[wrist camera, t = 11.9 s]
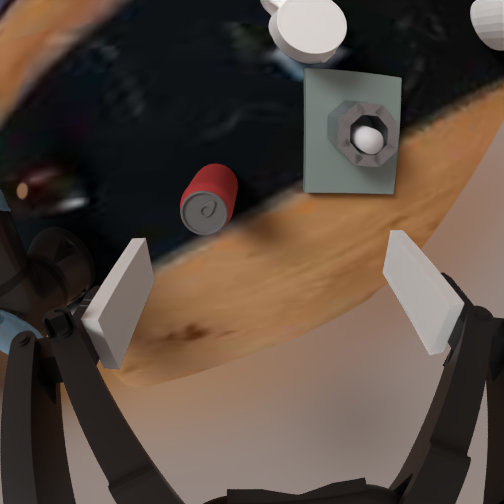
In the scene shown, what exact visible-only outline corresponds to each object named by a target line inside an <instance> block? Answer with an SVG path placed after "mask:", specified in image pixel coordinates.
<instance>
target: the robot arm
mask: <svg viewBox="0 0 504 504" xmlns="http://www.w3.org/2000/svg"><path fill="white" fill-rule="evenodd" d="M10 212H11V210H10V208H8V205H7V203H6V200H5V198H4V195H3V193H2V191H1V190H0V350H1V351H3V352H4V353H6V354H8V355H9V356H8V362H7V369H6V376H5V385H4V393H3V403H2V417H1V479H2V480H1V481H2V494H3V503H4V504H76V502H75V498H74V493H73V488H72V483H71V478H70V473H69V467H68V461H67V454H66V447H65V439H64V431H63V420H62V409H61V394H60V393H61V392H60V383H61V382H64V385H65V388H66V390H67V393H68V396H69V398H70V401H71V403H72V406H73V408H74V411H75V413H76V416H77V418H78V420H79V423H80V425H81V427H82V429H83V432H84V434H85V436H86V438H87V441H88V443H89V445H90V447H91V449H92V451H93V453H94V455H95V457H96V459H97V461H98V463H99V465H100V467H101V469H102V470H103V472H104V474H105V476H106V478H107V480H108V482H109V486H108V488H109V491H110V493H111V494H112V496H113V498H114V500H115V501H116V503H117V504H185V503H184V502H183V501H182V500H181V498H180V497H179V496H178V495H177V494H176V492H175V491H174V490H173V488H172V487H171V486H170V485H169V483H168V482H167V481H166V479H165V478H164V477H163V475H162V474H161V473H160V471H159V470H158V468H157V467H156V466H155V464H154V463H153V461H152V460H151V459H150V457H149V455H148V454H147V453H146V451H145V450H144V448H143V447H142V445H141V443H140V442H139V440H138V439H137V437H136V436H135V434H134V433H133V431H132V429H131V428H130V426H129V425H128V423H127V421H126V419H125V418H124V416H123V414H122V413H121V411H120V410H119V408H118V406H117V404H116V402H115V400H114V399H113V397H112V395H111V393H110V391H109V390H108V388H107V386H106V384H105V382H104V380H103V378H102V376H101V374H100V373H99V370H98V368H97V367H96V365H97V363H98V361H99V359H100V361H101V363H102V365H103V367H104V368H108V369H118V370H120V367H121V364H122V362H123V359H124V356H125V354H126V351H127V349H128V346H129V343H130V341H131V338H132V336H133V333H134V331H135V328H136V326H137V323H138V321H139V318H140V316H141V313H142V311H143V308H144V306H145V304H146V301H147V299H148V296H149V294H150V292H151V289H152V287H153V285H154V282H155V280H154V275H153V271H152V266H151V262H150V257H149V252H148V247H147V242H146V238H136V239H132V240H131V242H130V243H129V245H128V246H127V247H126V249H125V250H124V252H123V253H122V255H121V256H120V258H119V259H118V261H117V262H116V264H115V265H114V267H113V268H112V270H111V271H110V273H109V274H108V276H107V278H106V279H105V281H104V282H103V284H102V285H101V286H94V287H93V288H92V289H91V290H90V291H88V290H89V288H90V287H91V286H92V284H93V282H94V279H95V272H96V271H95V264H94V260H93V257H92V255H91V253H90V251H89V249H88V248H87V246H86V245H85V244H84V243H83V241H82V240H81V239H80V238H79V237H78V236H76V235H75V234H74V233H72V232H71V231H69V230H67V229H64V228H61V227H48V228H46V229H44V230H43V231H41V232H40V233H39V234H38V235H37V236H36V237H35V238H34V239H33V241H32V243H31V245H30V248H29V250H28V252H27V253H26V251H25V248H24V246H23V244H22V241H21V239H20V236H19V234H18V231H17V229H16V226H15V224H14V221H13V219H12V216H11V213H10ZM383 275H384V276H385V278H386V280H387V281H388V283H389V285H390V286H391V288H392V290H393V291H394V293H395V295H396V296H397V298H398V300H399V301H400V303H401V305H402V306H403V308H404V310H405V312H406V314H407V315H408V317H409V319H410V321H411V322H412V324H413V326H414V328H415V329H416V331H417V333H418V335H419V337H420V338H421V340H422V342H423V344H424V346H425V348H426V350H427V352H428V354H429V355H433V354H438V353H443V351H444V349H445V347H446V345H447V343H449V345H450V347H451V350H450V352H449V354H448V356H447V358H446V360H445V362H444V364H443V366H444V370H443V373H442V376H441V379H440V382H439V385H438V388H437V390H436V393H435V396H434V398H433V401H432V403H431V406H430V408H429V411H428V413H427V416H426V418H425V421H424V423H423V425H422V427H421V430H420V432H419V434H418V436H417V439H416V441H415V443H414V445H413V447H412V449H411V452H410V453H409V456H408V458H407V459H406V461H405V463H404V465H403V467H402V469H401V471H400V473H399V474H398V476H397V477H396V479H395V480H394V482H393V483H392V484H391V486H390V487H389V489H387V488H385V487H381V486H377V485H369V484H366V480H365V478H360V479H355V480H349V481H343V482H336V483H332V484H329V485H326V486H324V487H321V488H318V489H315V490H312V491H309V492H307V493H303V494H300V495H294V494H287V493H281V492H275V491H269V490H263V489H227V496H223V497H219V498H216V499H213V500H210V501H208V502H205V503H204V504H455V503H456V500H457V498H458V496H459V493H460V491H461V488H462V486H463V483H464V480H465V477H466V475H467V472H468V469H469V466H470V462H471V458H470V457H468V456H467V453H468V449H469V446H470V443H471V439H472V436H473V432H474V429H475V425H476V421H477V418H478V413H479V410H480V405H481V400H482V396H483V391H484V387H485V381H486V387H487V402H488V403H487V405H488V452H487V468H486V480H485V490H484V501H483V504H504V319H503V318H494V317H493V315H492V314H491V313H490V311H488V310H487V309H486V308H483V307H481V306H474V305H473V304H472V303H471V301H470V300H469V299H468V298H467V296H466V295H465V294H464V293H463V291H461V289H460V288H459V286H457V284H456V283H455V282H454V280H453V279H452V278H451V277H449V276H448V275H446V274H445V273H440V272H439V271H438V270H437V269H436V267H435V266H434V265H433V264H432V263H431V262H430V260H429V259H428V258H427V257H426V256H425V255H424V254H423V252H422V251H421V250H420V249H419V248H418V247H417V246H416V244H415V243H414V242H413V241H412V240H411V239H410V238H409V237H408V236H407V235H406V233H405V232H404V231H403V230H390V236H389V242H388V248H387V253H386V258H385V264H384V269H383ZM87 291H88V292H87ZM86 292H87V294H86V295H85V297H84V298H83V300H82V302H81V303H80V306H78V308H77V309H76V311H75V313H74V314H73V316H72V314H71V312H70V310H69V309H68V308H66V306H67V305H68V304H70V303H72V302H73V301H75V300H77V299H78V298H80V297H82V296H83V295H84V294H85V293H86ZM47 334H48V336H49V337H46V336H47Z"/></svg>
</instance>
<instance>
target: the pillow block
mask: <svg viewBox="0 0 504 504" xmlns="http://www.w3.org/2000/svg"><path fill="white" fill-rule="evenodd" d="M344 100H349V101H360V102H369V103H375V104H381V105H384V106H385V108H386V109H387V110H388V111H389V113H390V114H391V115H392V116H393V118H394V119H395V120H396V122H397V123H398V124H399V130H400V111H401V78H398V77H392V76H385V75H378V74H371V73H363V72H354V71H343V70H331V69H315V68H305V69H304V178H303V189H304V191H305V193H370V194H394V185H395V177H396V167H397V157H398V149H397V151H396V152H395V153H394V154H393V155H392V156H391V157H390V158H389V159H388V160H387V161H385V162H384V163H383V164H382V165H381V166H380V167H371V166H355V165H354V164H352V163H351V162H350V161H349V160H348V159H346V158H345V157H344V156H343V155H342V154H341V153H340V152H339V151H338V150H337V149H336V147H335V146H334V145H333V144H332V143H331V142H330V141H329V140H328V139H327V136H328V115H329V114H330V113H331V112H332V111H333V110H335V109H336V108H337V107H338V106H339V105H340V104H341V103H342V102H343V101H344ZM350 143H351V144H352V145H353V146H356V147H357V148H359V149H360V150H362V151H364V152H365V153H367V154H376V153H378V152H379V151H380V150H381V148H382V146H383V137H382V135H381V133H380V132H379V131H377V130H375V129H373V128H372V122H371V121H370V120H369V119H368V117H367V116H366V115H361V116H360V117H359V118H358V119H357V120H356V121H355V122H354V123H353V124H351V125H350ZM398 145H399V137H398Z"/></svg>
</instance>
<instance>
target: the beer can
mask: <svg viewBox="0 0 504 504" xmlns="http://www.w3.org/2000/svg"><path fill="white" fill-rule="evenodd" d="M237 189H238V181H237V178H236V176H235V174H234V173H233V172H232V170H231V169H229V168H228V167H226V166H224V165H220V164H210V165H207V166H205V167H203V168H202V169H201V170H200V171H199V172H198V173H197V174H196V176H195V177H194V179H193V180H192V182H191V183H190V185H189V186H188V187H187V189H186V190H185V192H184V194H183V196H182V198H181V204H180V209H181V211H180V213H181V219H182V221H183V223H184V224H185V226H186V227H187V228H188V229H189V230H190V231H192V232H194V233H196V234H200V235H212V234H214V233H217V232H218V231H220V230H221V229H222V228H223V227H224V226H225V225H226V224H227V223H228V222H229V220H230V219H231V217H232V214H233V209H234V204H235V199H236V194H237Z"/></svg>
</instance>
